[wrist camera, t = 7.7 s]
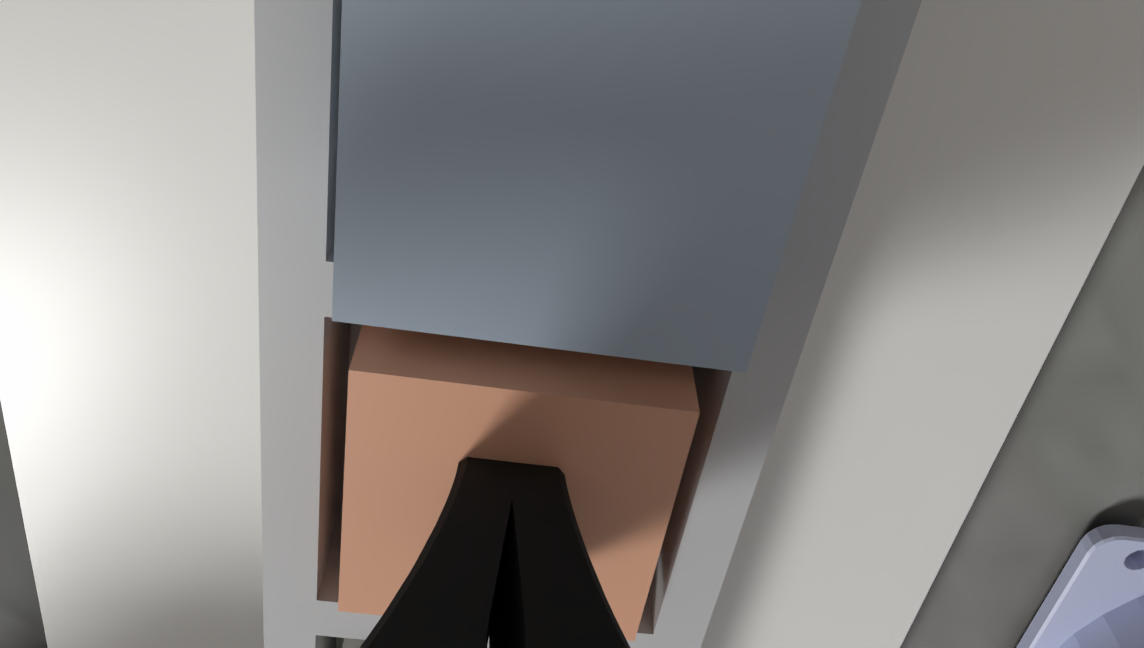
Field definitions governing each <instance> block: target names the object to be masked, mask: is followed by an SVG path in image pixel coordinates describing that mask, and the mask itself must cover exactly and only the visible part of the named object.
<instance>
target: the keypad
mask: <svg viewBox="0 0 1144 648" xmlns="http://www.w3.org/2000/svg"><path fill="white" fill-rule="evenodd" d="M341 16H342V0H0V400H1V406H2V411H3V416H4V421H5V426H6V432H7V437H8V442H9V447H10V453H11V458H12V463H13V468H14V473H15V479H16V484H17V489H18V494H19V500H20V505H21V510H22V515H23V520H24V526H25V531H26V536H27V541H28V547H29V552H30V557H31V562H32V567H33V573H34V578H35V583H36V588H37V594H38V599H39V604H40V609H41V615H42V620H43V625H44V630H45V635H46V641H47V646H48V648H342V646H343V642H344V638H350V639H360V640H366V638H367V637H368V635H369V634H370V633H371V631H372V630H373V628H374V627H375V625H376V624H377V623H378V621H379V620H380V618H381V617H382V616H381V615H371V614H361V613H351V612H341V611H338V597H339V575H340V552H341V530H342V507H343V485H344V462H345V440H346V417H347V395H348V372H349V367H350V364H351V360H352V357H353V354H354V350H355V347H356V344H357V340H358V337H359V334H360V330H361V327H362V325H360V324H352V323H344V322H336V321H332V297H333V266H334V235H335V203H336V172H337V141H338V110H339V79H340V48H341ZM1143 165H1144V0H862V1H861V5H860V8H859V11H858V14H857V18H856V21H855V24H854V27H853V30H852V34H851V37H850V40H849V43H848V47H847V50H846V53H845V56H844V60H843V63H842V66H841V69H840V72H839V76H838V79H837V82H836V85H835V89H834V92H833V95H832V98H831V101H830V105H829V108H828V111H827V114H826V118H825V121H824V124H823V127H822V130H821V134H820V137H819V140H818V143H817V147H816V150H815V153H814V156H813V160H812V163H811V166H810V169H809V172H808V176H807V179H806V182H805V185H804V189H803V192H802V195H801V198H800V201H799V205H798V208H797V211H796V214H795V218H794V221H793V224H792V227H791V231H790V234H789V237H788V240H787V243H786V247H785V250H784V253H783V256H782V260H781V263H780V266H779V269H778V272H777V276H776V279H775V282H774V285H773V289H772V292H771V295H770V298H769V302H768V305H767V308H766V311H765V314H764V318H763V321H762V324H761V327H760V331H759V334H758V337H757V340H756V343H755V347H754V350H753V353H752V356H751V360H750V363H749V366H748V369H747V372H746V373H743V372H735V371H727V370H719V369H711V368H703V367H695V366H692V369H693V375H694V381H695V386H696V392H697V398H698V404H699V410H700V414H699V418H698V421H697V425H696V428H695V432H694V435H693V439H692V442H691V446H690V449H689V453H688V456H687V460H686V463H685V467H684V470H683V474H682V477H681V481H680V484H679V488H678V491H677V495H676V498H675V502H674V505H673V509H672V512H671V516H670V519H669V523H668V526H667V530H666V533H665V537H664V540H663V544H662V547H661V551H660V554H659V558H658V561H657V565H656V568H655V572H654V575H653V578H652V582H651V585H650V589H649V592H648V596H647V599H646V603H645V606H644V610H643V613H642V617H641V620H640V624H639V627H638V631H637V634H636V638H635V641H630V640H627V642H628V644H629V646H630V648H900V646H901V644H902V642H903V640H904V638H905V636H906V634H907V632H908V630H909V628H910V626H911V624H912V623H913V621H914V619H915V617H916V615H917V613H918V611H919V609H920V607H921V605H922V603H923V601H924V599H925V597H926V595H927V593H928V591H929V589H930V587H931V585H932V583H933V581H934V579H935V577H936V575H937V573H938V571H939V569H940V567H941V565H942V563H943V561H944V559H945V557H946V555H947V553H948V551H949V549H950V547H951V545H952V543H953V541H954V539H955V537H956V535H957V533H958V531H959V529H960V527H961V525H962V523H963V522H964V520H965V518H966V516H967V514H968V512H969V510H970V508H971V506H972V504H973V502H974V500H975V498H976V496H977V494H978V492H979V490H980V488H981V486H982V484H983V482H984V480H985V478H986V476H987V474H988V472H989V470H990V468H991V466H992V464H993V462H994V460H995V458H996V456H997V454H998V452H999V450H1000V448H1001V446H1002V444H1003V442H1004V440H1005V438H1006V436H1007V434H1008V432H1009V430H1010V428H1011V426H1012V424H1013V422H1014V420H1015V419H1016V417H1017V415H1018V413H1019V411H1020V409H1021V407H1022V405H1023V403H1024V401H1025V399H1026V397H1027V395H1028V393H1029V391H1030V389H1031V387H1032V385H1033V383H1034V381H1035V379H1036V377H1037V375H1038V373H1039V371H1040V369H1041V367H1042V365H1043V363H1044V361H1045V359H1046V357H1047V355H1048V353H1049V351H1050V349H1051V347H1052V345H1053V343H1054V341H1055V339H1056V337H1057V335H1058V333H1059V331H1060V329H1061V327H1062V325H1063V323H1064V321H1065V319H1066V318H1067V316H1068V314H1069V312H1070V310H1071V308H1072V306H1073V304H1074V302H1075V300H1076V298H1077V296H1078V294H1079V292H1080V290H1081V288H1082V286H1083V284H1084V282H1085V280H1086V278H1087V276H1088V274H1089V272H1090V270H1091V268H1092V266H1093V264H1094V262H1095V260H1096V258H1097V256H1098V254H1099V252H1100V250H1101V248H1102V246H1103V244H1104V242H1105V240H1106V238H1107V236H1108V234H1109V232H1110V230H1111V228H1112V226H1113V224H1114V222H1115V220H1116V218H1117V217H1118V215H1119V213H1120V211H1121V209H1122V207H1123V205H1124V203H1125V201H1126V199H1127V197H1128V195H1129V193H1130V191H1131V189H1132V187H1133V185H1134V183H1135V181H1136V179H1137V177H1138V175H1139V173H1140V171H1141V169H1142V167H1143ZM487 648H489V639H488V644H487Z"/></svg>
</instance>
